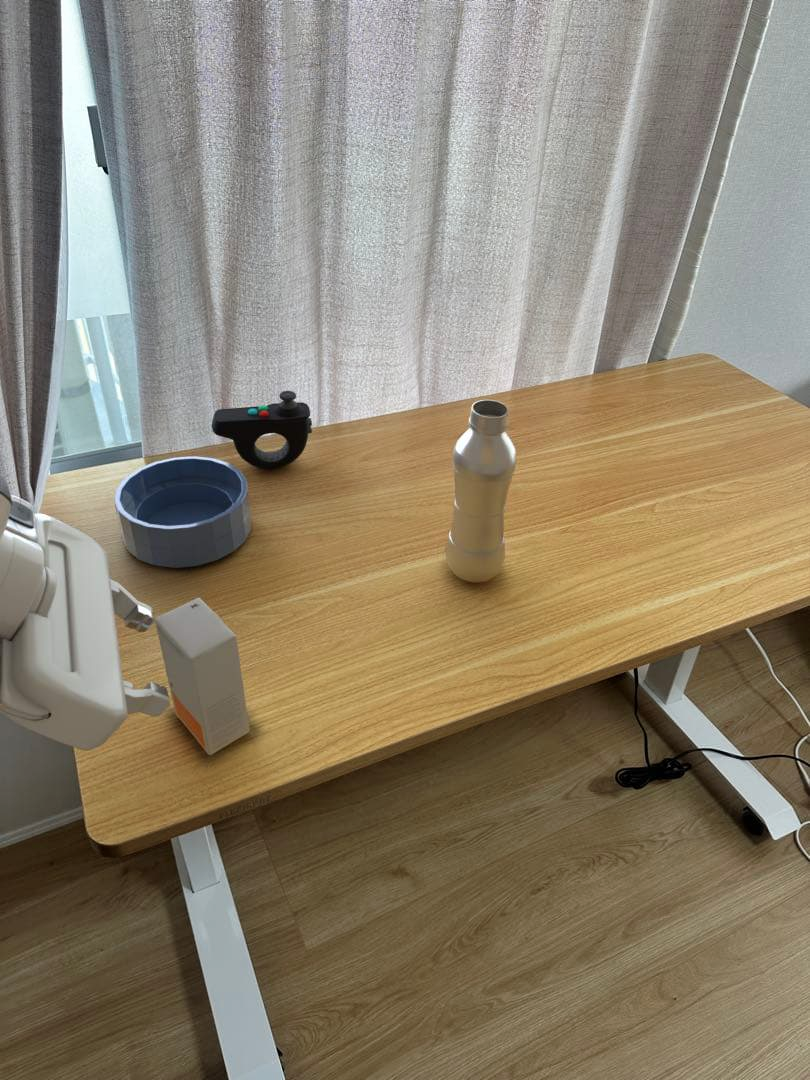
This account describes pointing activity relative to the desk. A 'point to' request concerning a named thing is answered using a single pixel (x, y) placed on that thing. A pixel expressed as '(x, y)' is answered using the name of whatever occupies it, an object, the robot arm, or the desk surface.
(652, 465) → the desk surface
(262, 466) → the controller
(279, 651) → the desk surface
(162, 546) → the bowl
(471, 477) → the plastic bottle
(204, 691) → the cosmetic box
